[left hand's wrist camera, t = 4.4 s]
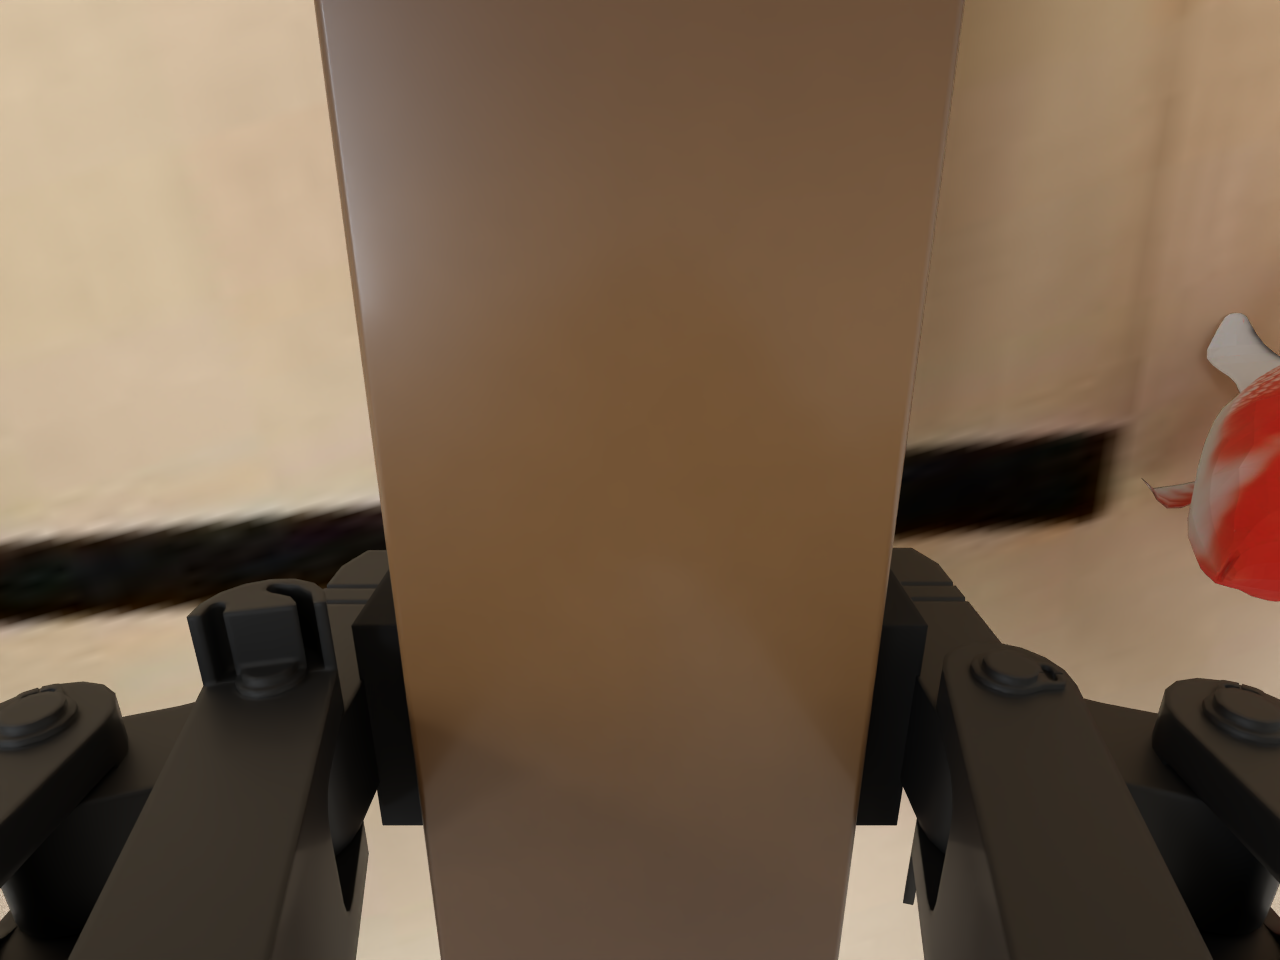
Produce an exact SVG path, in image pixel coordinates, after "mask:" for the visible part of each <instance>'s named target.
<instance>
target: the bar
mask: <svg viewBox="0 0 1280 960" xmlns="http://www.w3.org/2000/svg"><path fill="white" fill-rule="evenodd" d="M964 4H965V0H314V5H315V12H316V20H317V27H318V35H319V43H320V50H321V58H322V65H323V73H324V80H325V88H326V95H327V103H328V110H329V118H330V126H331V133H332V141H333V148H334V156H335V163H336V171H337V178H338V186H339V193H340V201H341V209H342V216H343V224H344V231H345V239H346V246H347V254H348V261H349V269H350V276H351V284H352V292H353V299H354V307H355V314H356V322H357V329H358V337H359V344H360V352H361V359H362V367H363V375H364V382H365V390H366V397H367V405H368V412H369V420H370V427H371V435H372V442H373V450H374V458H375V465H376V473H377V480H378V488H379V495H380V503H381V510H382V518H383V525H384V533H385V541H386V548H387V556H388V563H389V571H390V578H391V586H392V593H393V601H394V608H395V616H396V624H397V631H398V639H399V646H400V654H401V661H402V669H403V676H404V684H405V691H406V699H407V707H408V714H409V722H410V729H411V737H412V744H413V752H414V759H415V767H416V774H417V782H418V790H419V797H420V805H421V812H422V820H423V827H424V835H425V842H426V850H427V857H428V865H429V873H430V880H431V888H432V895H433V903H434V910H435V918H436V925H437V933H438V940H439V948H440V956H441V960H838V957H839V949H840V942H841V934H842V926H843V919H844V911H845V904H846V896H847V889H848V881H849V874H850V866H851V858H852V851H853V843H854V836H855V828H856V821H857V813H858V806H859V798H860V790H861V783H862V775H863V768H864V760H865V753H866V745H867V738H868V730H869V722H870V715H871V707H872V700H873V692H874V685H875V677H876V670H877V662H878V654H879V647H880V639H881V632H882V624H883V617H884V609H885V601H886V594H887V586H888V579H889V571H890V564H891V556H892V549H893V541H894V533H895V526H896V518H897V511H898V503H899V496H900V488H901V481H902V473H903V465H904V458H905V450H906V443H907V435H908V428H909V420H910V413H911V405H912V397H913V390H914V382H915V375H916V367H917V360H918V352H919V345H920V337H921V329H922V322H923V314H924V307H925V299H926V292H927V284H928V277H929V269H930V261H931V254H932V246H933V239H934V231H935V224H936V216H937V208H938V201H939V193H940V186H941V178H942V171H943V163H944V156H945V148H946V140H947V133H948V125H949V118H950V110H951V103H952V95H953V88H954V80H955V72H956V65H957V57H958V50H959V42H960V35H961V27H962V20H963V12H964Z"/></svg>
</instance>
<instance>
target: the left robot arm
mask: <svg viewBox="0 0 1280 960" xmlns="http://www.w3.org/2000/svg"><path fill="white" fill-rule="evenodd" d="M187 620H188V624H189V628H190V632H191V636H192V641H193V645H194V649H195V653H196V657H197V661H198V665H199V669H200V673H201V677H202V681H203V685H204V686H203V688H202V690H201V692H200V694H199V696H198V698H197V700H196V702H194V703H190V704H186V705H182V706H177V707H172V708H167V709H162V710H157V711H151V712H146V713H141V714H136V715H131V716H125V717H122V715H121V711H120V708H119V705H118V701H117V698H116V695H115V693H114V692H113V691H111V690H110V689H109V688H108V687H106V686H105V685H103V684H96V683H89V682H75V683H65V684H53V685H48V686H43V687H42V688H41V689H38V688H35V689H32V690H29V691H26V692H23V693H21V694H19V695H17V696H16V697H14V698H12V699H10V700H7V701H5V702H3V703H0V888H1V889H2V891H3V894H4V896H5V899H6V901H7V904H8V906H9V908H10V911H9V912H8V913H7V914H6V915H5V916H4V918H3V919H2V920H1V921H0V960H356V953H357V945H358V937H359V929H360V920H361V912H362V904H363V896H364V887H365V879H366V871H367V863H368V855H369V853H368V846H367V839H366V833H365V827H364V821H363V820H364V818H365V815H366V813H367V811H368V809H369V806H370V804H371V802H372V799H373V797H374V795H375V793H376V790H377V792H378V798H379V805H380V811H381V817H382V824H383V825H423V820H422V812H421V805H420V797H419V790H418V782H417V774H416V767H415V759H414V752H413V744H412V737H411V729H410V722H409V714H408V707H407V699H406V691H405V684H404V676H403V669H402V661H401V654H400V646H399V639H398V631H397V624H396V616H395V608H394V601H393V593H392V586H391V578H390V571H389V563H388V556H387V550H368V551H366V552H365V553H363V554H361V555H360V556H358V557H356V558H355V559H353V560H351V561H350V562H348V563H346V564H345V565H343V566H342V567H341V568H340V569H339V570H338V572H337V573H336V574H335V576H334V577H333V578H332V579H331V581H330V582H329V583H328V584H327V589H322V588H320V587H319V586H317V585H316V584H315V583H312V582H308V581H303V580H298V579H270V580H264V581H259V582H253V583H248V584H244V585H241V586H238V587H235V588H232V589H229V590H226V591H223V592H220V593H219V594H217V595H215V596H213V597H211V598H210V599H208V600H206V601H204V602H202V603H201V604H199V605H198V606H197V607H196V608H195V609H194V610H193V611H192V612H191V613H190V614H189V615H188V616H187ZM903 788H904V790H905V792H906V794H907V797H908V799H909V801H910V803H911V806H912V808H913V810H914V813H915V815H916V817H917V821H916V827H915V833H914V839H913V845H912V851H911V857H910V863H909V869H908V874H907V880H906V886H905V893H904V900H903V903H906V904H911V905H913V903H914V898H915V893H916V894H917V902H918V910H919V919H920V927H921V935H922V943H923V951H924V960H1280V917H1279V916H1278V915H1277V914H1276V913H1275V911H1274V910H1273V909H1272V908H1271V904H1272V902H1273V899H1274V897H1275V894H1276V892H1277V889H1278V887H1279V884H1280V699H1277V698H1275V697H1273V696H1270V695H1268V694H1266V693H1264V692H1263V691H1261V690H1259V689H1257V688H1254V687H1251V686H1247V685H1244V684H1242V685H1239V683H1236V682H1231V681H1226V680H1212V679H1202V678H1194V679H1187V680H1181V681H1176V682H1175V683H1173V684H1172V685H1171V686H1169V687H1168V688H1167V689H1165V692H1164V696H1163V699H1162V702H1161V706H1160V709H1159V713H1158V714H1157V713H1152V712H1146V711H1141V710H1136V709H1131V708H1125V707H1120V706H1115V705H1110V704H1105V703H1100V702H1096V701H1092V700H1088V699H1084V698H1083V697H1082V695H1081V693H1080V691H1079V689H1078V687H1077V685H1076V683H1075V682H1074V681H1073V680H1072V679H1071V677H1070V676H1069V675H1068V674H1067V673H1066V671H1065V670H1063V669H1062V668H1060V667H1059V666H1057V665H1056V664H1054V663H1053V662H1051V661H1050V660H1048V659H1047V658H1045V657H1043V656H1040V655H1038V654H1035V653H1033V652H1030V651H1028V650H1026V649H1023V648H1020V647H1015V646H1011V645H1006V644H1002V643H1001V642H1000V641H999V639H998V638H997V637H996V636H995V634H994V633H993V632H992V631H991V629H990V628H989V627H988V626H987V624H986V623H985V622H984V621H983V619H982V618H981V617H980V616H979V614H978V613H977V612H976V611H975V609H974V608H973V607H972V606H971V604H970V603H969V602H968V601H965V597H964V596H963V594H962V593H961V592H960V591H959V589H958V588H957V587H956V586H953V582H952V581H951V579H950V578H949V577H948V576H947V574H946V573H945V572H944V571H943V569H942V568H941V567H940V566H939V564H938V563H936V562H934V561H933V560H931V559H929V558H928V557H926V556H924V555H923V554H921V553H919V552H918V551H916V550H914V549H913V548H893V549H892V556H891V564H890V571H889V579H888V586H887V594H886V601H885V609H884V617H883V624H882V632H881V639H880V647H879V654H878V662H877V670H876V677H875V685H874V692H873V700H872V707H871V715H870V722H869V730H868V738H867V745H866V753H865V760H864V768H863V775H862V783H861V790H860V798H859V806H858V813H857V821H856V825H897V821H898V814H899V808H900V802H901V795H902V789H903Z"/></svg>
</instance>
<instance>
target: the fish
mask: <svg viewBox="0 0 1280 960" xmlns="http://www.w3.org/2000/svg"><path fill="white" fill-rule="evenodd" d="M1207 359H1208V360H1209V362H1210V363H1211V364H1212V365H1213V366H1214V367H1216V368H1217V369H1218V370H1220V371H1221V372H1223V373H1224V374H1226V375H1227V376H1229V377H1230V378H1231V379H1232V380H1233V381H1234V382H1235V383H1236V385H1237V387H1238V389H1239V392H1240V393H1239V394H1238V395H1237V396H1236V397H1235V398H1234V399H1233V400H1231V401H1230V402H1229V403H1228V404H1227V405H1226V406H1225V407H1223V408H1222V410H1221V411H1220V413H1219V414H1218V416H1217V417H1216V419H1215V420H1214V422H1213V424H1212V427H1211V429H1210V431H1209V433H1208V436H1207V438H1206V441H1205V444H1204V447H1203V450H1202V454H1201V458H1200V461H1199V465H1198V468H1197V474H1196V479H1195V482H1190V483H1186V484H1181V485H1173V486H1166V487H1159V488H1152V487H1151V486H1150V485H1149V484H1148V483H1147V482H1146V481H1144V480H1143V481H1144V482H1145V483H1146V485H1147V486H1148V487H1149V489H1150V490H1151V491H1152V492H1153V494H1154V496H1155V497H1156V499H1157V500H1158V501H1159V502H1160V503H1161V504H1163V505H1164V506H1165V507H1166V508H1182V507H1185V506H1187V505H1190V504H1191V505H1190V510H1189V515H1188V537H1189V540H1190V543H1191V546H1192V548H1193V551H1194V554H1195V556H1196V559H1197V561H1198V563H1199V566H1200V568H1201V569H1202V570H1203V572H1204V573H1205V574H1206V575H1207V576H1208V577H1210V578H1211V579H1212V580H1213V581H1214V582H1215V583H1217V584H1220V585H1224V586H1227V587H1231V588H1235V589H1239V590H1241V591H1243V592H1245V593H1247V594H1248V595H1250V596H1253V597H1257V598H1261V599H1264V600H1268V601H1280V356H1279V355H1277V354H1275V353H1274V352H1273V351H1271V350H1270V349H1269V348H1268V347H1267V346H1266V345H1264V343H1263V342H1262V341H1261V339H1260V338H1259V337H1258V335H1257V334H1256V332H1255V331H1254V329H1253V327H1252V326H1251V324H1250V322H1249V320H1248V318H1247V316H1245V315H1243V314H1241V313H1231V314H1229V315H1227V316H1226V317H1225V318H1224V320H1223V321H1222V322H1221V324H1220V326H1219V327H1218V329H1217V331H1216V333H1215V335H1214V337H1213V339H1212V341H1211V343H1210V345H1209V347H1208V349H1207Z"/></svg>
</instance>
